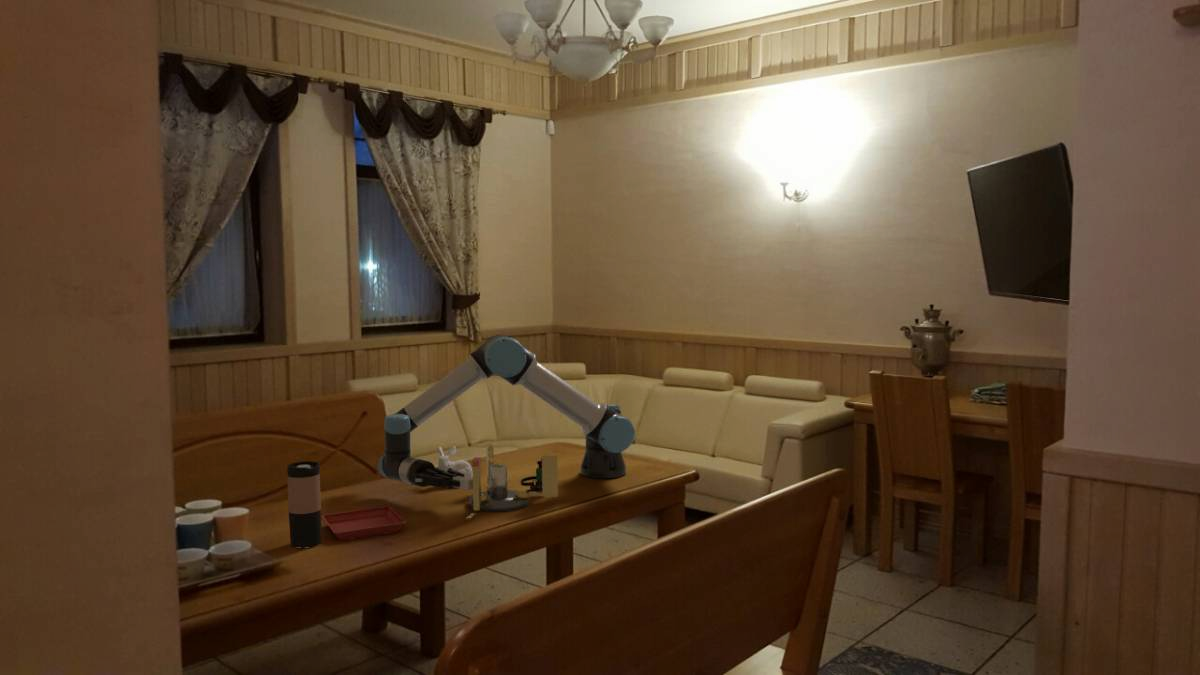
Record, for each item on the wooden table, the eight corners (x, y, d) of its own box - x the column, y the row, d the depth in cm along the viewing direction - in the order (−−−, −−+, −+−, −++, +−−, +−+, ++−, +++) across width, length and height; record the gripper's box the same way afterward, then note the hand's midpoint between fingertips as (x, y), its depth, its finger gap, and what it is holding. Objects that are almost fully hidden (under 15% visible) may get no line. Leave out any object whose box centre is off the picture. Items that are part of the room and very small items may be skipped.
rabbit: (440, 489, 271) (439, 450, 270) (434, 482, 280) (433, 445, 279) (478, 485, 276) (478, 447, 275) (471, 478, 284) (470, 442, 283)
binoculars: (522, 457, 270) (553, 455, 268) (526, 491, 271) (557, 489, 269) (514, 463, 262) (546, 461, 260) (518, 498, 262) (550, 496, 260)
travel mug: (294, 539, 220) (291, 461, 219) (325, 538, 221) (322, 460, 219) (286, 549, 212) (283, 468, 211) (318, 548, 213) (315, 467, 212)
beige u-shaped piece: (474, 499, 249) (473, 451, 248) (488, 499, 250) (487, 451, 248) (469, 511, 237) (468, 461, 236) (483, 510, 237) (482, 460, 236)
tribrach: (570, 494, 263) (569, 447, 261) (533, 524, 232) (532, 470, 231) (488, 489, 270) (487, 443, 269) (442, 517, 239) (441, 465, 238)
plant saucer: (334, 545, 217) (334, 532, 217) (321, 526, 233) (321, 514, 233) (406, 534, 225) (406, 521, 225) (389, 517, 241) (389, 505, 241)
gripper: (436, 480, 260) (489, 493, 244) (398, 489, 250) (451, 503, 234) (436, 455, 259) (489, 467, 244) (398, 463, 249) (451, 475, 233)
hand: (470, 485), depth 239 cm, fingers closed
